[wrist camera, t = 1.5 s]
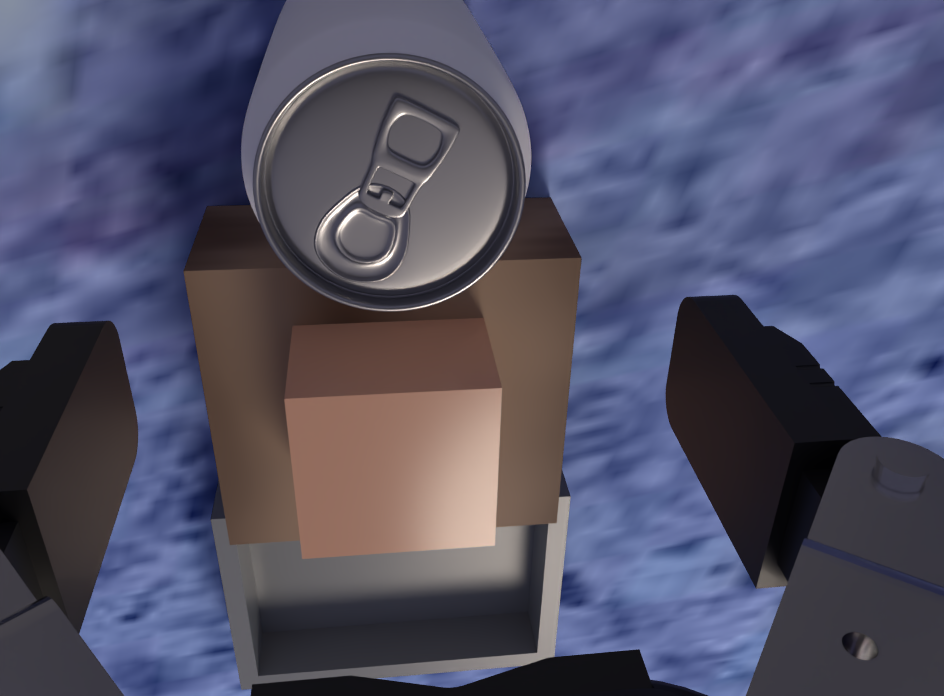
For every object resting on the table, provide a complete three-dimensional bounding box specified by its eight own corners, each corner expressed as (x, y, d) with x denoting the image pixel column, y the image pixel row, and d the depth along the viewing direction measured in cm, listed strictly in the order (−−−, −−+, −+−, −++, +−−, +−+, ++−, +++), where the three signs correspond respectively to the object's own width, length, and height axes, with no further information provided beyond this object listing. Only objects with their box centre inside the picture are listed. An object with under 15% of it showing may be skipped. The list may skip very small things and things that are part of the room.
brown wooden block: (550, 197, 31) (581, 257, 27) (533, 441, 37) (556, 523, 33) (206, 206, 30) (183, 271, 26) (244, 458, 36) (229, 545, 32)
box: (555, 450, 38) (570, 496, 35) (541, 612, 43) (553, 663, 40) (220, 469, 36) (210, 519, 34) (248, 635, 41) (241, 689, 39)
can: (243, 100, 28) (184, 261, 18) (324, -97, 26) (307, -36, 16) (421, 183, 31) (457, 368, 20) (513, 9, 28) (605, 123, 18)
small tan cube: (483, 317, 28) (502, 388, 25) (479, 465, 31) (494, 545, 28) (292, 325, 27) (284, 398, 24) (307, 475, 30) (302, 558, 27)
